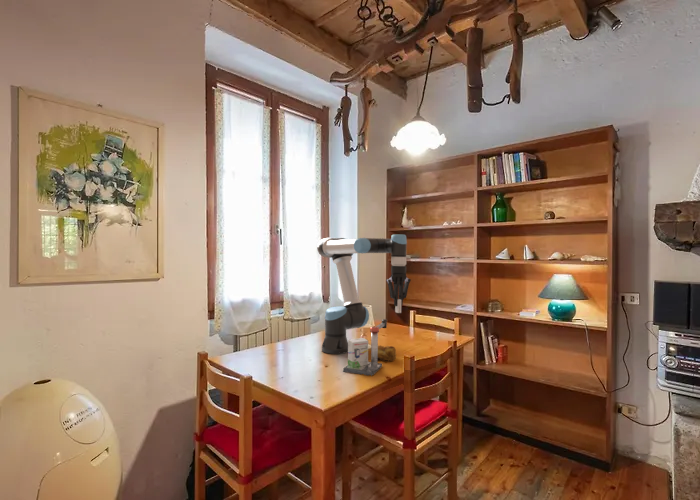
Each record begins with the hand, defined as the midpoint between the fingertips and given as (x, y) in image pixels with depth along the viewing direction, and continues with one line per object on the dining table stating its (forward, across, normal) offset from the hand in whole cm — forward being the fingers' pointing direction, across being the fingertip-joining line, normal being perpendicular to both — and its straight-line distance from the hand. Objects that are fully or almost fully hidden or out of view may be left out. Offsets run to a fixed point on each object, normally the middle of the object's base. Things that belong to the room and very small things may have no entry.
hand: (398, 312), depth 186 cm
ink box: (+23, +23, +3) cm, 33 cm away
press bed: (+24, +21, +5) cm, 33 cm away
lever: (+7, +12, +4) cm, 15 cm away
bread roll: (+25, +5, -5) cm, 26 cm away
